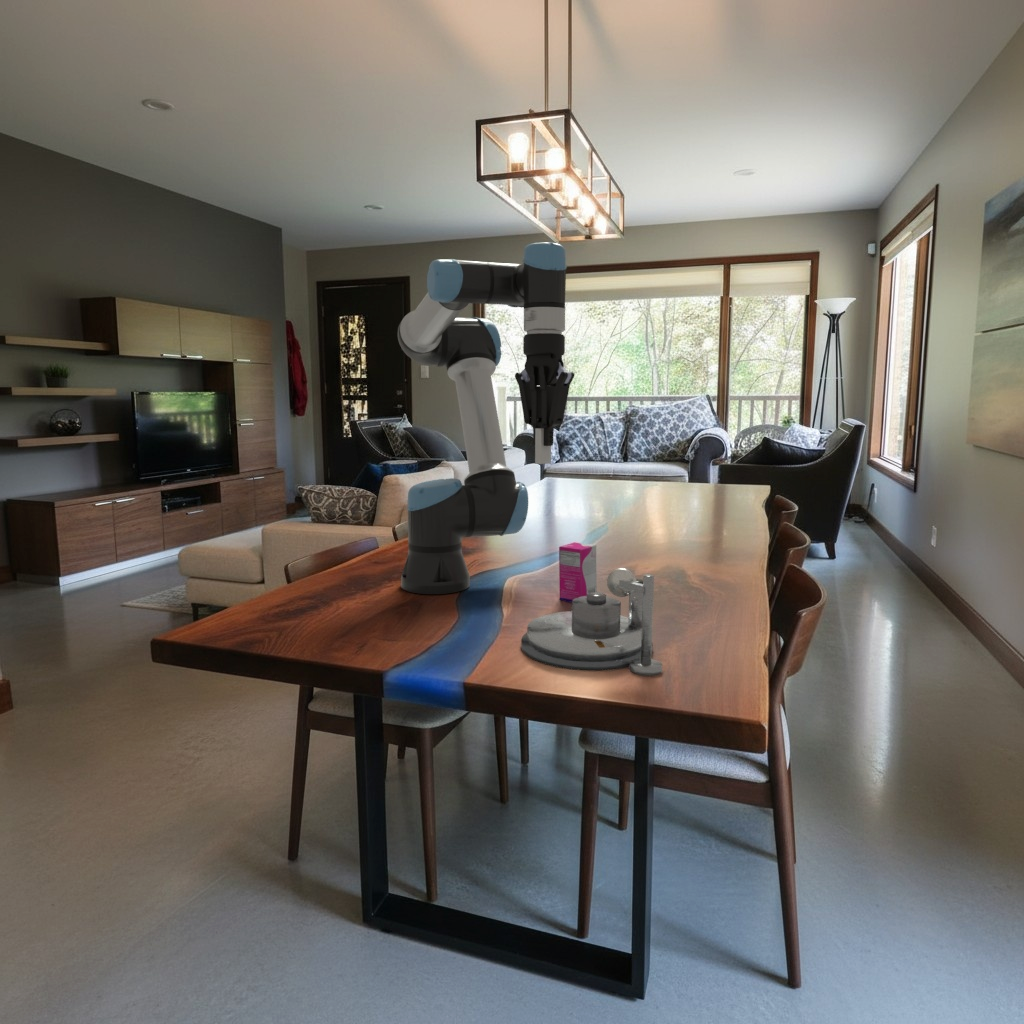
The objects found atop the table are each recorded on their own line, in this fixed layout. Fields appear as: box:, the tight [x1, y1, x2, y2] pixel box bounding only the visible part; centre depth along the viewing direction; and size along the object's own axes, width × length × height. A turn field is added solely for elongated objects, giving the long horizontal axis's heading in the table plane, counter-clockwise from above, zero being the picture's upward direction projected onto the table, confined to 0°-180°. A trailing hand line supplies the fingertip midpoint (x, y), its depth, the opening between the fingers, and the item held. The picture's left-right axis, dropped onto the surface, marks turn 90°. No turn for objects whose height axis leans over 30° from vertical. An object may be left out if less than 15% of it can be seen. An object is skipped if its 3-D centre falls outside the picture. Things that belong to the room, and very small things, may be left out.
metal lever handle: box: [606, 567, 663, 677], centre depth 117 cm, size 10×5×15 cm, turn 64°
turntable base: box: [520, 632, 654, 672], centre depth 127 cm, size 22×22×1 cm
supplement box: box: [558, 542, 598, 603], centre depth 156 cm, size 6×6×12 cm
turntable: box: [526, 578, 643, 660], centre depth 126 cm, size 20×20×10 cm
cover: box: [571, 592, 622, 639], centre depth 125 cm, size 8×8×6 cm
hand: (543, 463), depth 140 cm, fingers closed
